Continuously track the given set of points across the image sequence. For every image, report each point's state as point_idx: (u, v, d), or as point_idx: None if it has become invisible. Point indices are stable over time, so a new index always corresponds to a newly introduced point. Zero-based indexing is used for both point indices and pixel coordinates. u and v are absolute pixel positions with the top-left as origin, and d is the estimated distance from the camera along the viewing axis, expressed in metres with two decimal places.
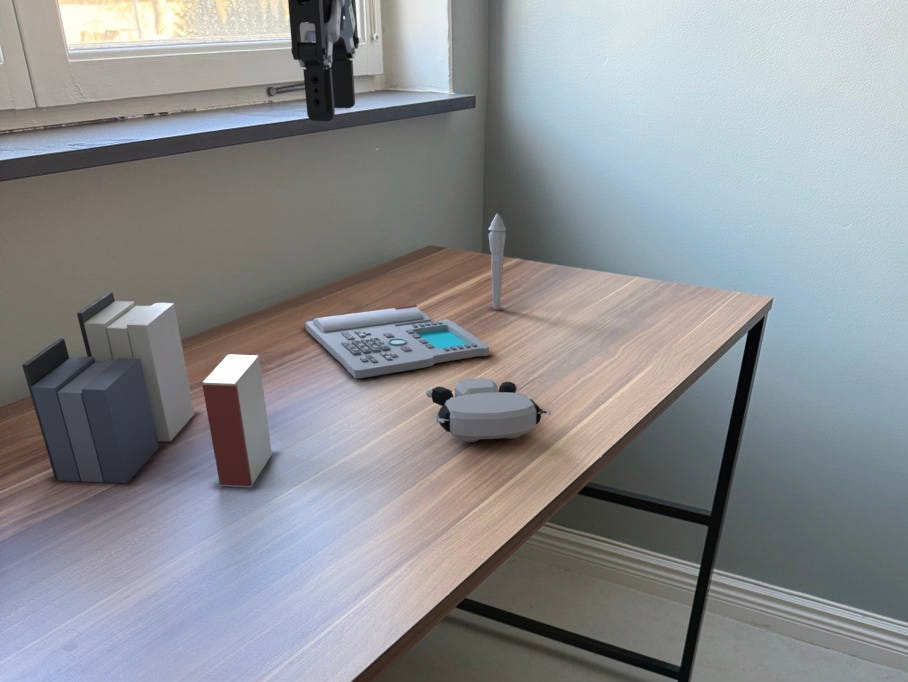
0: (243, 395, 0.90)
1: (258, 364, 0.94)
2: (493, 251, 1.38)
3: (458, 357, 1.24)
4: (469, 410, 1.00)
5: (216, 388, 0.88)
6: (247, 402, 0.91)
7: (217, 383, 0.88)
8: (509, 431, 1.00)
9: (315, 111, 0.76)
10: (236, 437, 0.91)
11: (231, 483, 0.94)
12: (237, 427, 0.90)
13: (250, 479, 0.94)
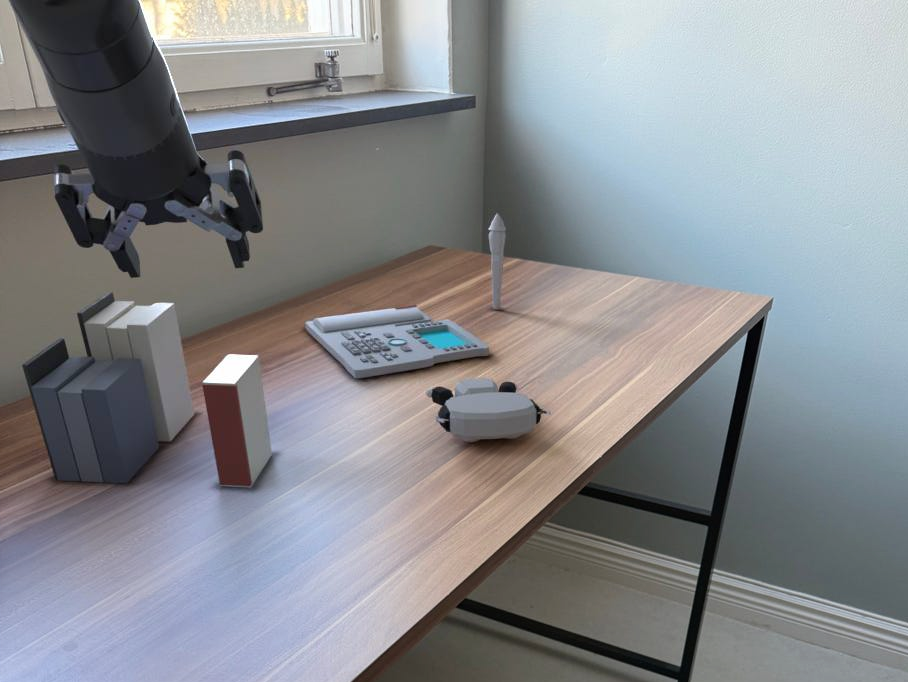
0: (243, 395, 0.90)
1: (258, 364, 0.94)
2: (493, 251, 1.38)
3: (458, 357, 1.24)
4: (469, 410, 1.00)
5: (216, 388, 0.88)
6: (247, 402, 0.91)
7: (217, 383, 0.88)
8: (509, 431, 1.00)
9: None
10: (236, 437, 0.91)
11: (231, 483, 0.94)
12: (237, 427, 0.90)
13: (250, 479, 0.94)
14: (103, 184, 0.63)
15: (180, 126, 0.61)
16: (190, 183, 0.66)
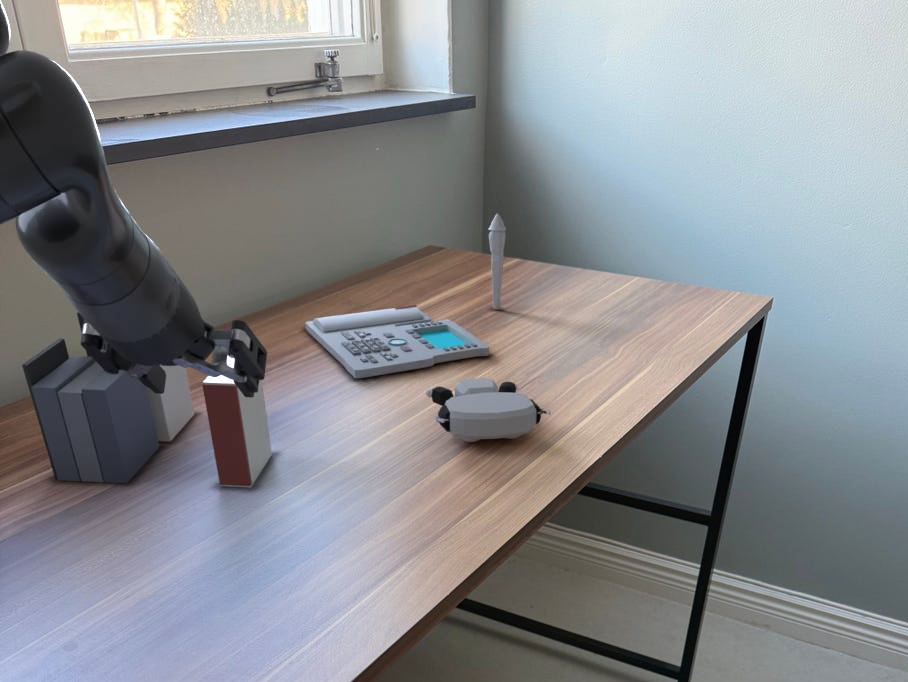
0: (243, 395, 0.90)
1: None
2: (493, 251, 1.38)
3: (458, 357, 1.24)
4: (469, 410, 1.00)
5: (216, 388, 0.88)
6: (247, 402, 0.91)
7: (217, 383, 0.88)
8: (509, 431, 1.00)
9: None
10: (236, 437, 0.91)
11: (231, 483, 0.94)
12: (237, 427, 0.90)
13: (250, 479, 0.94)
14: (114, 349, 0.72)
15: (179, 315, 0.69)
16: (194, 346, 0.74)
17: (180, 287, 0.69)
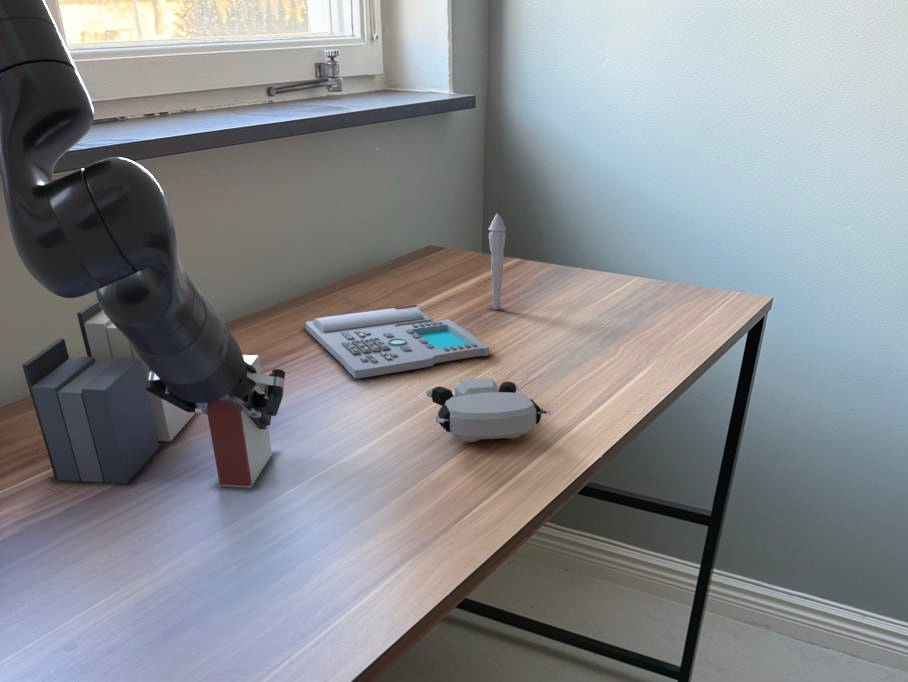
0: None
1: (258, 364, 0.94)
2: (493, 251, 1.38)
3: (458, 357, 1.24)
4: (469, 410, 1.00)
5: None
6: None
7: None
8: (509, 431, 1.00)
9: None
10: (236, 437, 0.91)
11: (231, 483, 0.94)
12: (237, 427, 0.90)
13: (250, 479, 0.94)
14: (169, 389, 0.82)
15: (227, 360, 0.80)
16: (238, 385, 0.85)
17: (228, 336, 0.80)
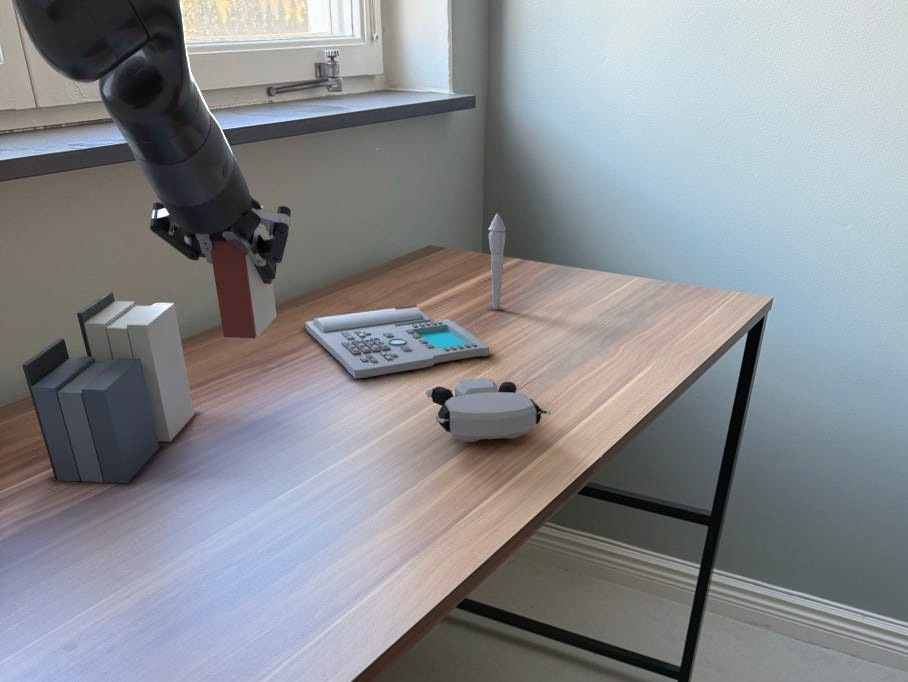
0: None
1: None
2: (493, 251, 1.38)
3: (458, 357, 1.24)
4: (469, 410, 1.00)
5: None
6: None
7: None
8: (509, 431, 1.00)
9: None
10: (240, 283, 0.89)
11: (235, 335, 0.92)
12: (242, 272, 0.89)
13: (254, 331, 0.92)
14: (173, 219, 0.81)
15: (232, 184, 0.78)
16: (243, 220, 0.83)
17: (233, 159, 0.78)
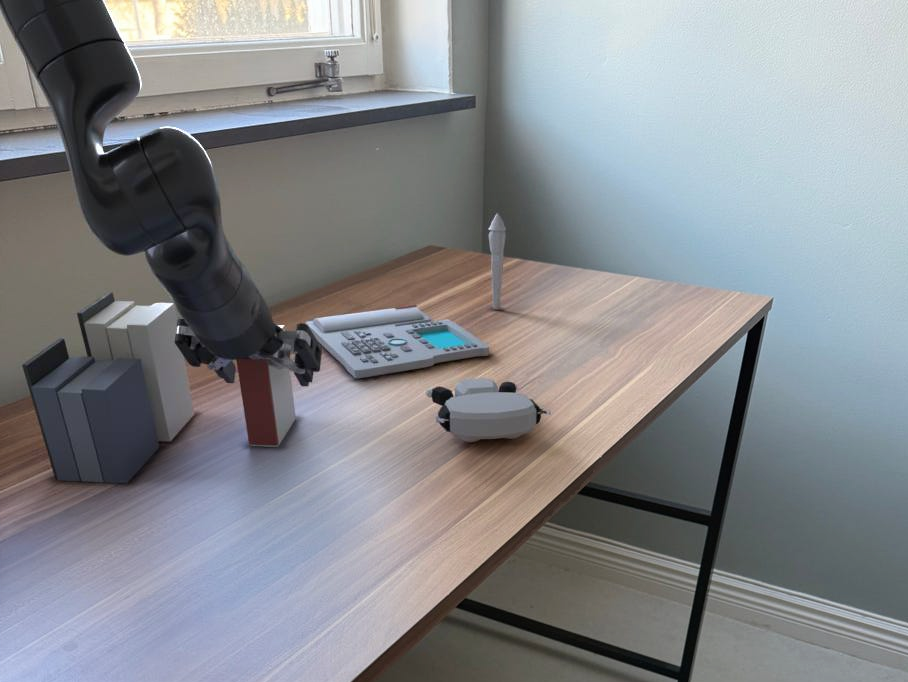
0: None
1: None
2: (493, 251, 1.38)
3: (458, 357, 1.24)
4: (469, 410, 1.00)
5: None
6: None
7: None
8: (509, 431, 1.00)
9: None
10: (265, 399, 0.99)
11: (259, 443, 1.02)
12: (266, 389, 0.98)
13: (277, 439, 1.02)
14: (205, 347, 0.90)
15: (259, 319, 0.87)
16: (267, 344, 0.93)
17: (260, 297, 0.87)
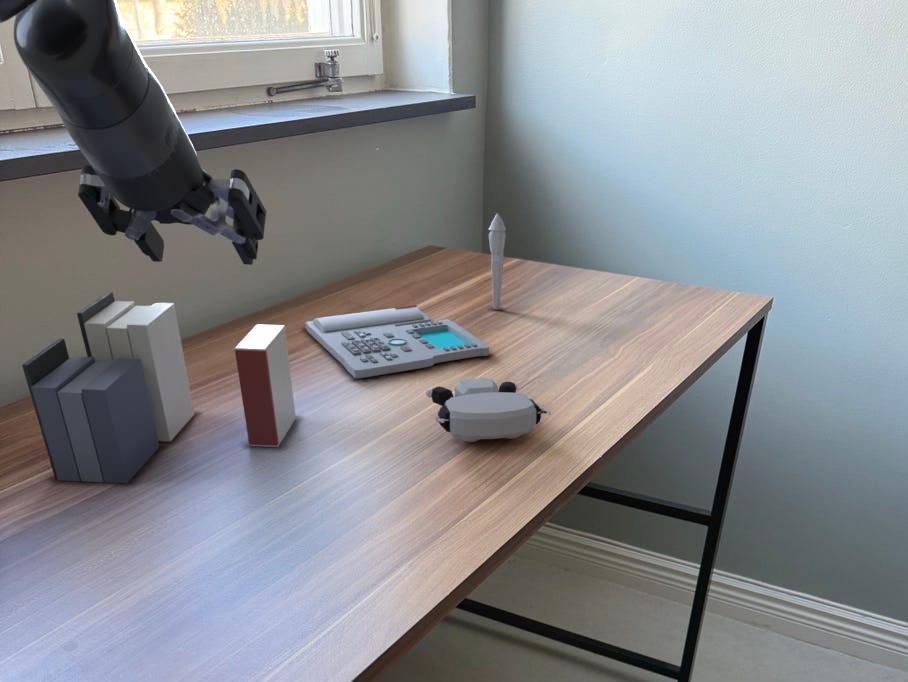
0: (271, 360, 0.98)
1: (284, 333, 1.02)
2: (493, 251, 1.38)
3: (458, 357, 1.24)
4: (469, 410, 1.00)
5: (248, 353, 0.96)
6: (275, 367, 0.99)
7: (248, 349, 0.96)
8: (509, 431, 1.00)
9: None
10: (265, 399, 0.99)
11: (259, 443, 1.02)
12: (266, 389, 0.98)
13: (277, 439, 1.02)
14: (112, 194, 0.71)
15: (178, 153, 0.69)
16: (193, 196, 0.74)
17: (179, 125, 0.68)
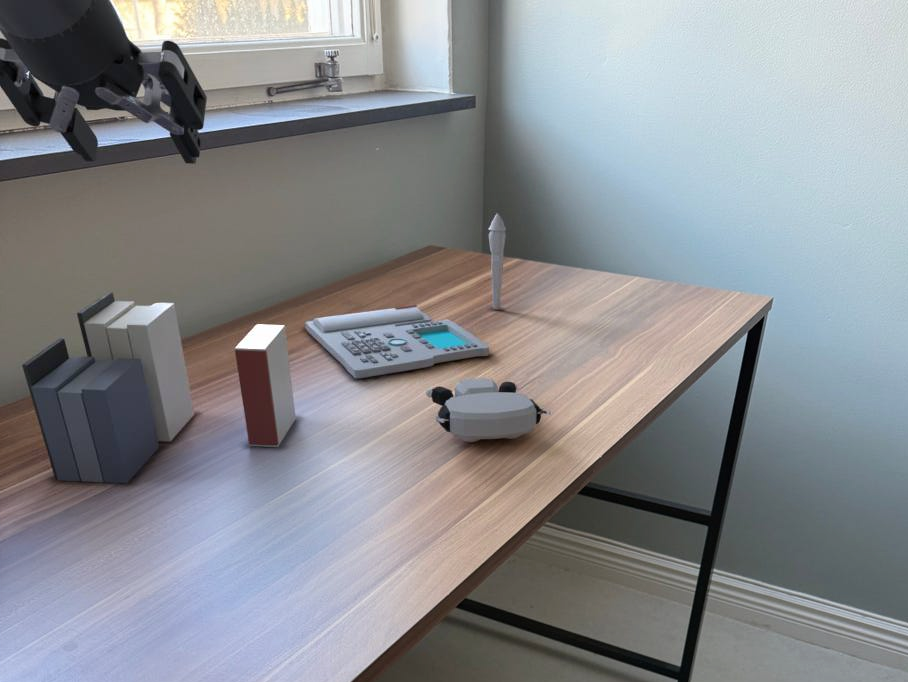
0: (271, 360, 0.98)
1: (284, 333, 1.02)
2: (493, 251, 1.38)
3: (458, 357, 1.24)
4: (469, 410, 1.00)
5: (248, 353, 0.96)
6: (275, 367, 0.99)
7: (248, 349, 0.96)
8: (509, 431, 1.00)
9: None
10: (265, 399, 0.99)
11: (259, 443, 1.02)
12: (266, 389, 0.98)
13: (277, 439, 1.02)
14: (25, 65, 0.63)
15: (96, 12, 0.60)
16: (119, 71, 0.65)
17: None
